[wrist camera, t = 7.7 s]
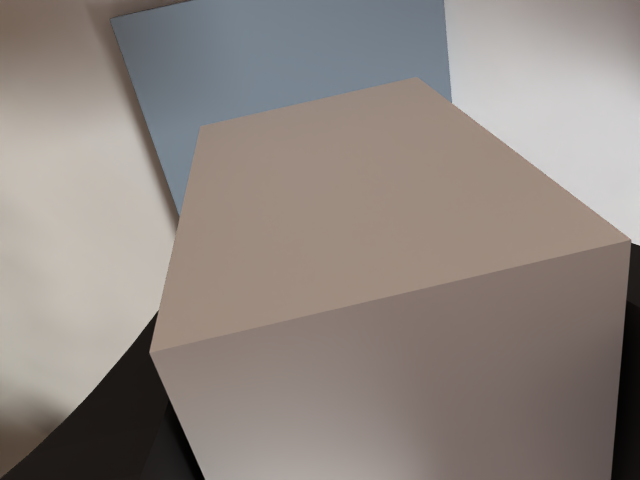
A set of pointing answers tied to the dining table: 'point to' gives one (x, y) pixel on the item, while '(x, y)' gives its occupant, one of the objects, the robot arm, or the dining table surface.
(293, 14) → the mat
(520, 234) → the plug
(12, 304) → the dining table surface
